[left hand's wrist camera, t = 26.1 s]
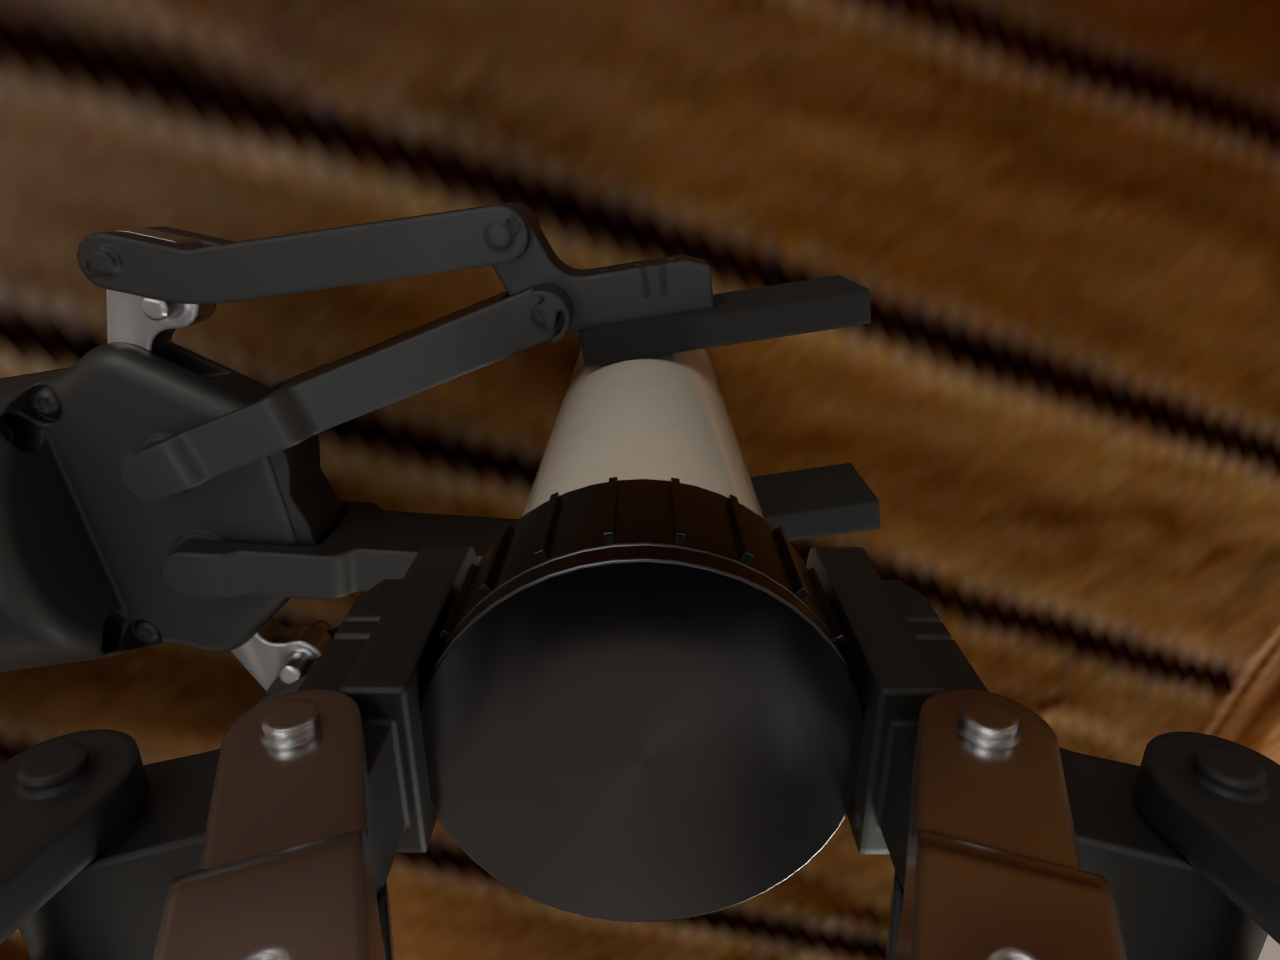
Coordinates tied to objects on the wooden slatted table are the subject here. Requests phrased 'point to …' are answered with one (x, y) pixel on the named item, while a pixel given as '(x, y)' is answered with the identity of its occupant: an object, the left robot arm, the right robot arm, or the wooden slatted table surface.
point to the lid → (642, 705)
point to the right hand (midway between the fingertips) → (857, 400)
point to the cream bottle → (644, 429)
